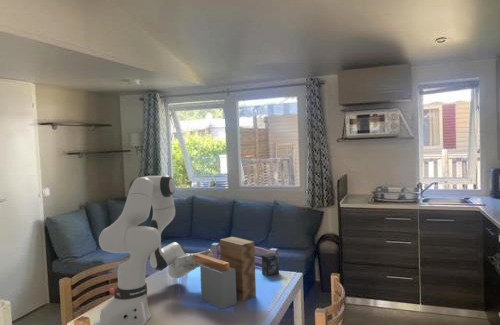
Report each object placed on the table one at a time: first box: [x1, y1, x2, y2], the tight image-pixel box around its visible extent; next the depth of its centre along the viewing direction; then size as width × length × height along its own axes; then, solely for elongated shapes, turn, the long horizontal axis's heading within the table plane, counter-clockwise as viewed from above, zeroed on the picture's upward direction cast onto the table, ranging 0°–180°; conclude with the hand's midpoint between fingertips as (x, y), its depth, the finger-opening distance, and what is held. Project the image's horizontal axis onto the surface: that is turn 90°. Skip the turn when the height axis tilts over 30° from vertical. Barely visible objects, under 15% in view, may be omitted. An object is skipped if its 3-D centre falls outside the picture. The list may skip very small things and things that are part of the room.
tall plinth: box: [219, 236, 257, 302], centre depth 187 cm, size 8×16×26 cm, turn 42°
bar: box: [193, 252, 229, 271], centre depth 182 cm, size 3×24×3 cm, turn 42°
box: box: [261, 252, 280, 277], centre depth 216 cm, size 8×6×11 cm
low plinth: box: [199, 264, 237, 310], centre depth 179 cm, size 8×16×16 cm, turn 42°
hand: (201, 253), depth 188 cm, fingers open, 8 cm apart
